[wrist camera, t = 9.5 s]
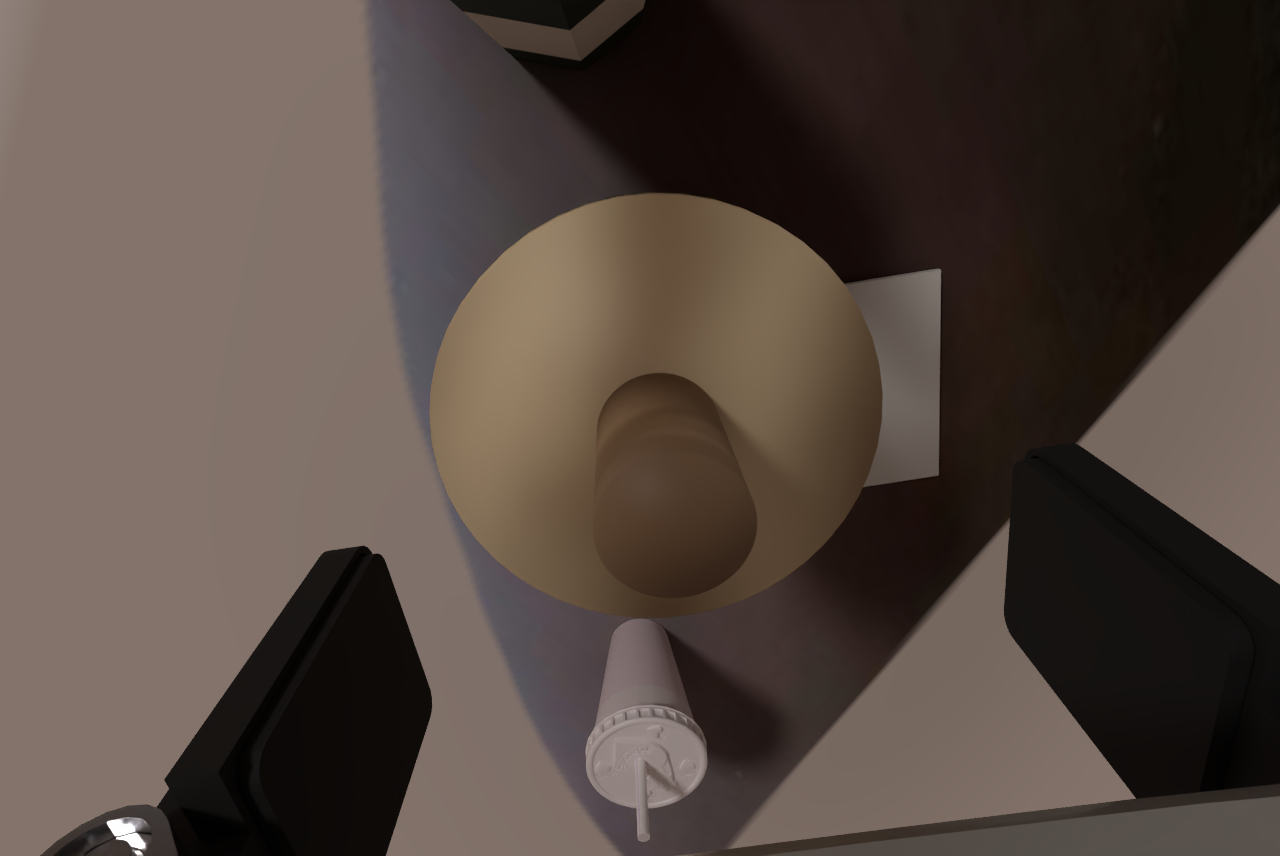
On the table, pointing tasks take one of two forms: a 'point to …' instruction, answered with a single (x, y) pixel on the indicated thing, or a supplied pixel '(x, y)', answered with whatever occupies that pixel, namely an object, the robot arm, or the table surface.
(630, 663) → the smoothie
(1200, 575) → the robot arm
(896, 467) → the mat
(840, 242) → the table surface
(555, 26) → the wine bottle
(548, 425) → the lid
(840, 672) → the table surface
